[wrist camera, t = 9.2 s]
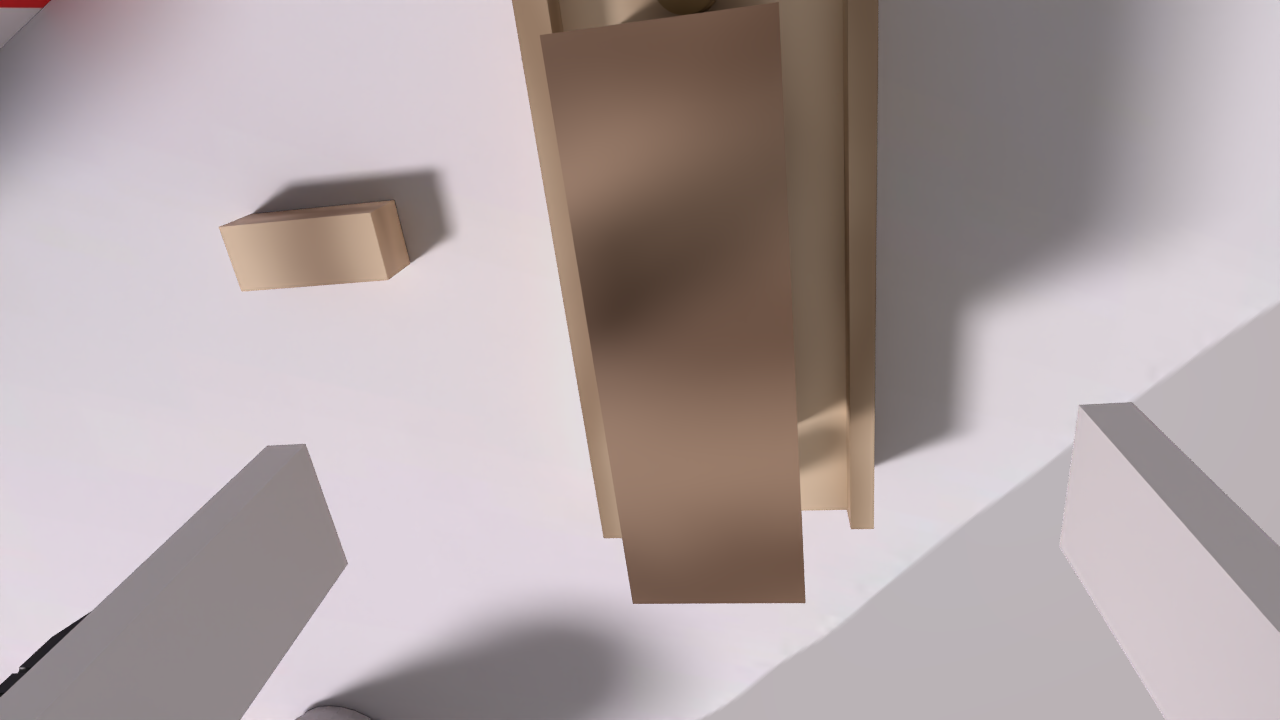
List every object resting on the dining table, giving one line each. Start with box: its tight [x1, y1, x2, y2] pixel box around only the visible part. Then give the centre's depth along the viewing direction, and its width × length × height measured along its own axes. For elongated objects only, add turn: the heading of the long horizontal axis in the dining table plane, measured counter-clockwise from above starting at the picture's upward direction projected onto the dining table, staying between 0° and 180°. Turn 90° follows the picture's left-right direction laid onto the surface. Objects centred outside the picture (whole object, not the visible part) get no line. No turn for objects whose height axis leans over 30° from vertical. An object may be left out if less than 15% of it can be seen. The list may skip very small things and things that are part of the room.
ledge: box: [512, 0, 878, 538], centre depth 25 cm, size 10×20×6 cm, turn 7°
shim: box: [219, 200, 410, 291], centre depth 28 cm, size 6×2×2 cm, turn 97°
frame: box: [540, 2, 805, 604], centre depth 21 cm, size 14×4×9 cm, turn 7°
